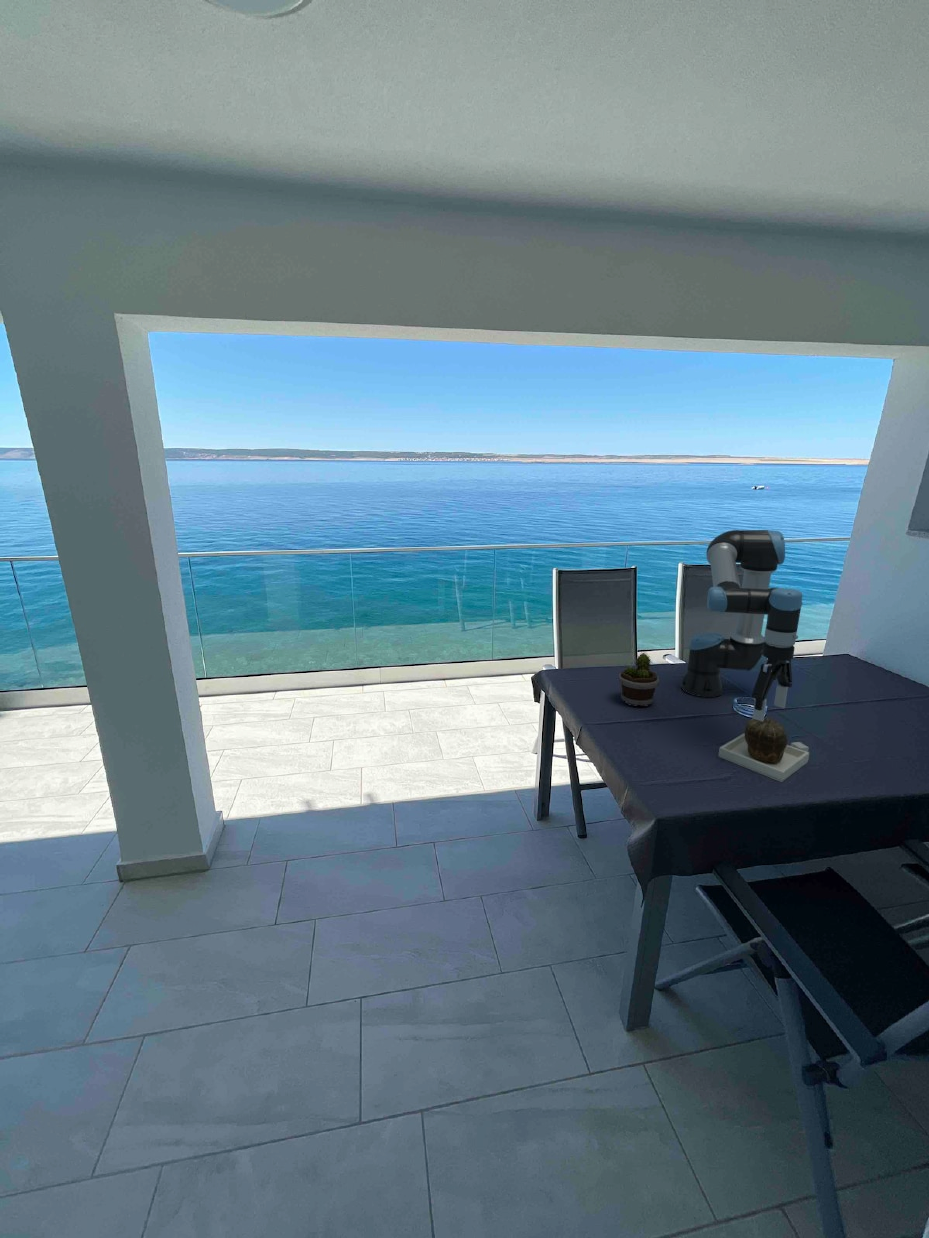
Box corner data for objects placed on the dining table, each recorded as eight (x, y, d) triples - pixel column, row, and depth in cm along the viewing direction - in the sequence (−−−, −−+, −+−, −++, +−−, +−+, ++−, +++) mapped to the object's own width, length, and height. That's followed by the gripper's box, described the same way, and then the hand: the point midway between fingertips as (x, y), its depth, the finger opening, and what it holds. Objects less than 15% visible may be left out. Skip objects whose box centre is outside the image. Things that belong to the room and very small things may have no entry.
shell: (733, 749, 155) (738, 713, 152) (767, 747, 155) (772, 711, 153) (756, 767, 144) (762, 729, 141) (792, 765, 145) (798, 727, 142)
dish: (718, 756, 152) (719, 747, 151) (746, 739, 162) (747, 731, 161) (781, 782, 138) (783, 772, 137) (807, 761, 148) (809, 752, 148)
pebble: (790, 749, 156) (791, 742, 156) (798, 748, 157) (799, 741, 156) (799, 754, 153) (800, 748, 152) (807, 754, 153) (808, 747, 153)
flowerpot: (645, 714, 182) (649, 661, 177) (608, 701, 193) (611, 652, 188) (665, 703, 191) (669, 652, 186) (629, 691, 202) (632, 644, 197)
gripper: (773, 656, 131) (762, 730, 137) (812, 638, 146) (801, 705, 151) (743, 649, 137) (734, 720, 143) (784, 632, 151) (774, 697, 157)
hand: (768, 712), depth 147 cm, fingers open, 13 cm apart
